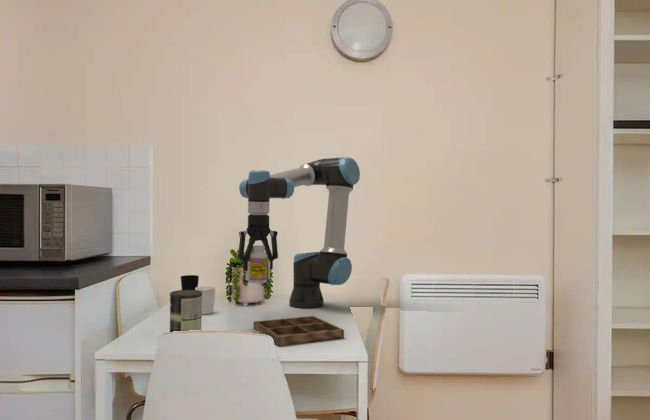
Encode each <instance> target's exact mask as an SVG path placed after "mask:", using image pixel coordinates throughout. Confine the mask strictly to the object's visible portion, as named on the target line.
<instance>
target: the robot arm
mask: <svg viewBox="0 0 650 420" xmlns="http://www.w3.org/2000/svg"><path fill="white" fill-rule="evenodd" d="M270 173H271V172H270V171H268V170H261V169H259V170H258V169H256V170H250V171H249V173H248V178H247V179H243V180H242V181H241V182H240V183H239V185H238V188H239V193H240V195H241V197H243V198H244V199H247V213H248V214H249V215H247V228H246V230H240V231H239V232H238V235H239V244H238V245H239V246H238V253H237V259H238V260H240V261H242V262H243V263H242V264H243V265H242V269H243V271H244V272H245V281H248V282H249V281H250V262H249V256H250V253H252V248H253V246H255V243H256V242H258V241H261V243H262V246H265V250H264V252H265V253H266V254H267V255H268V265H267V280H271V271H272V270H273V267H274V266H273V265H274V260H276V259H278V258H279V254H278V252H279V250H278V240H277V237H278V231H276V230H271V228H270V216H269V214H270V199H282V200H283V199H289V198H291V197H292V196H293V195H294V192H295V188H297V187H301V186H306V187H310V186H325V188H326V190H327V191H328V199H327V201H328V202H327V209H326V210H327V211H326V222H325V232H324V233H325V234H324V241H323V242H324V243H323V248H322V249H321V250H320V251H314V252H303V253H301V252H300V253H296V254H295V255H294V256H293V262H292V264H293V265H292V266H293V270H292V271H293V287H292V291H291V294H290V296H289V299H288V303H289V304H288V305H289V306H290V307H292V308H297V309H314V308H320V307H323V306H325V304H324V303H325V302H324V301H325V300H324V297H323V294H322V291H321V284H325V285H326V284H327V285H332V286H335V285H336V286H341V285H344V284H346V282H347V281H348V280H349V279H350V277H351V274H352V269H353V266H352V265H353V264H352V261H351V260H350V258H348V252H347V251H346V250H345V245H346V244H345V242H346V233H347V231H346V230H347V220H348V210H349V209H348V208H349V199H350V193H351V192H353V190H354V185H357V184H358V183H359V181H360V178H361V171H360V167H359V165H358V162H357V161H356V160H355V159H354V158H352V157H343V156H342V157H340V156H339V157H331V158H321V159H316V160H314V161H310V162H307V163H304V164H301V165H300V166H299V167H298V168H293V169H290V170H285V171H281V172H277V173H276V172H275V173H273V174H270ZM247 235H248V237H249V238H248V244H247V247H246V249H245V246H246V237H247ZM268 236H270V242H271V248H270V245H269V240H268Z"/></svg>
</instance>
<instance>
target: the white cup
mask: <svg viewBox="0 0 650 420" xmlns="http://www.w3.org/2000/svg"><path fill="white" fill-rule="evenodd" d="M195 290H198V291H202V315H211V314H214V311H215V309H214V307H215V301H216V300H215V299H216V297H215V296H216V287H214V286H209V285H208V286H206V285H205V286H198V287H196V288H195Z"/></svg>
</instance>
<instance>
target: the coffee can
mask: <svg viewBox="0 0 650 420" xmlns="http://www.w3.org/2000/svg"><path fill="white" fill-rule="evenodd" d="M202 315H203V314H202V291H198V290H182V289H179V290H174V291H171V292H170V293H169V333H170V332H173V331H189V330H201V331H202Z"/></svg>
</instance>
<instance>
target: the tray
mask: <svg viewBox="0 0 650 420" xmlns="http://www.w3.org/2000/svg"><path fill="white" fill-rule="evenodd" d="M252 325H253V329H254V330H256V331H258V332H260V333H262V334H266V335H269V336H271V337H272V338H273V340H274V343H275V344H274V343H273V344H274V345H275V346H276V347H278V348H279V347H284V346H293V345H301V344H308V343H318V342H326V341H333V340H341V339H345V329H343V328H341V327H339V326H337V325H334V324H332V323H330V322H328V321H326V320H323V319H321V318H319V317H316V316H315V315H308V316H298V317H289V318H279V319H277V318H276V319H269V320H268V319H267V320H257V321H253V324H252ZM254 330H253V331H254ZM256 331H255V332H256Z"/></svg>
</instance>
